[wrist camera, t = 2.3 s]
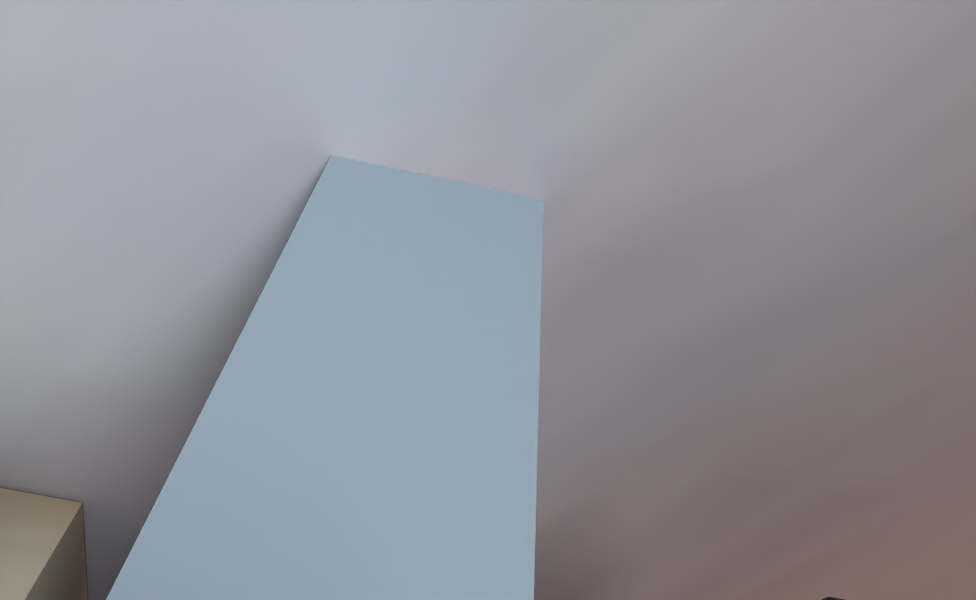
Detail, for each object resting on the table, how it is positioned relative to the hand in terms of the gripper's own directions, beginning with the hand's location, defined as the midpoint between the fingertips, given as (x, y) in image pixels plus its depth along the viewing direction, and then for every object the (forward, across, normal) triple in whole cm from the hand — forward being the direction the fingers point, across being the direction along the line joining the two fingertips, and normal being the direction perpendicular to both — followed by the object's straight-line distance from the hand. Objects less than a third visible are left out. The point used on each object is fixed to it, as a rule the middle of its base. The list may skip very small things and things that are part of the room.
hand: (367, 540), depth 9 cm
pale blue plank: (+4, 0, +4) cm, 6 cm away
